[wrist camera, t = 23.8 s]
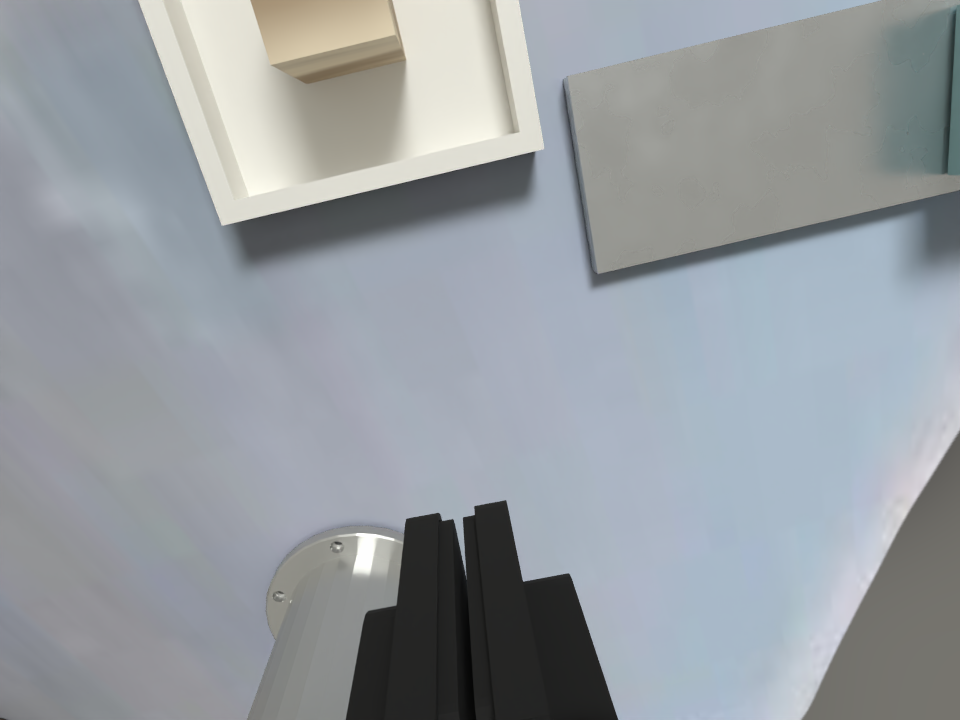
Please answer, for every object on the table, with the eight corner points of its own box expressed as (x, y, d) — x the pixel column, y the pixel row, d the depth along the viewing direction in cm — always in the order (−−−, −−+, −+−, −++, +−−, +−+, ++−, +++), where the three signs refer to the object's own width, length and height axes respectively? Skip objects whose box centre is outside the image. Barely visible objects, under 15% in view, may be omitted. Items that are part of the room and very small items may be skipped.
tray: (535, 149, 30) (544, 148, 27) (243, 219, 31) (222, 225, 28) (466, -234, 25) (469, -285, 22) (113, -143, 25) (70, -182, 22)
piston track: (1086, 155, 32) (1173, 154, 28) (592, 269, 32) (611, 284, 29) (1114, -54, 28) (1216, -87, 25) (562, 79, 29) (579, 67, 25)
